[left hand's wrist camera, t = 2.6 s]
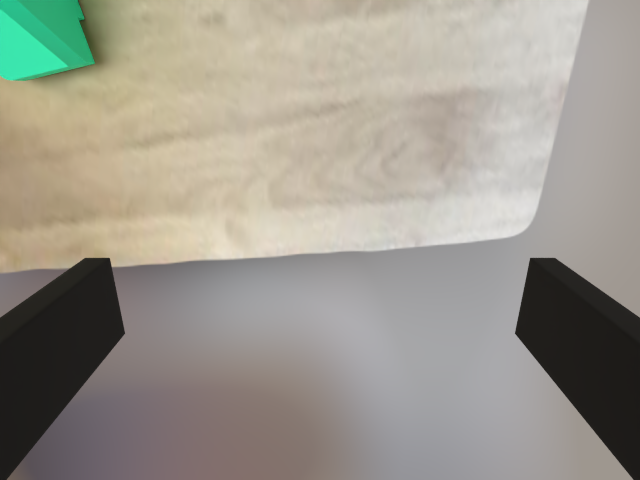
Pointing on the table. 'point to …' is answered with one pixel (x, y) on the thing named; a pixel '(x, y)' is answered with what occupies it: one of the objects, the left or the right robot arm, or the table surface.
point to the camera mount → (41, 38)
